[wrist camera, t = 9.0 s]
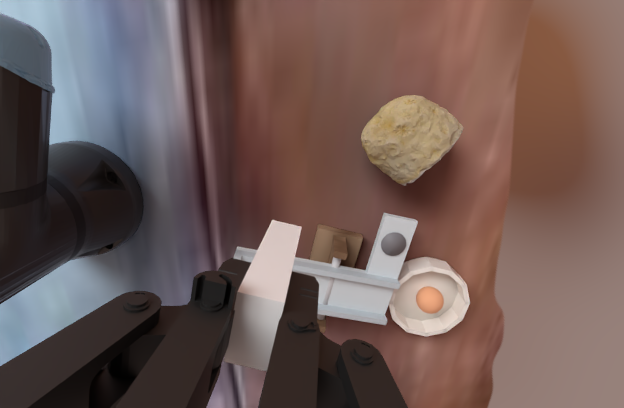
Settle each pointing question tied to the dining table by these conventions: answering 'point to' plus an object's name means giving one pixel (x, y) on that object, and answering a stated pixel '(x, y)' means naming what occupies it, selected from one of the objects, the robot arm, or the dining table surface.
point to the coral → (409, 137)
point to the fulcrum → (335, 250)
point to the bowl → (433, 275)
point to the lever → (358, 274)
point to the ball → (429, 300)
